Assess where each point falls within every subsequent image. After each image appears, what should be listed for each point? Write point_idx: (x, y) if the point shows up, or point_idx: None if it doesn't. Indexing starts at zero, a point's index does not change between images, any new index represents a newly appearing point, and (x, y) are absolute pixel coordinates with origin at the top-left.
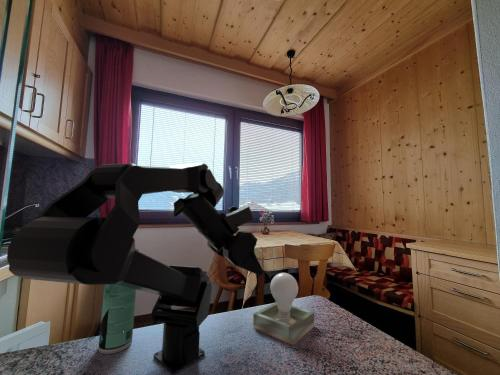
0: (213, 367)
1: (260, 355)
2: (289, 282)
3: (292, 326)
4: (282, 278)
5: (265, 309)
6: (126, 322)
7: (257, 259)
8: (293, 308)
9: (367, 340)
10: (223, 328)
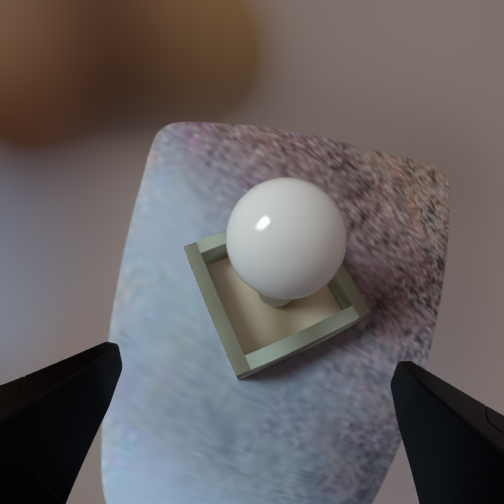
0: None
1: (363, 416)
2: (343, 226)
3: (359, 306)
4: (326, 237)
5: (222, 319)
6: None
7: (488, 407)
8: None
9: (378, 179)
10: (198, 457)
